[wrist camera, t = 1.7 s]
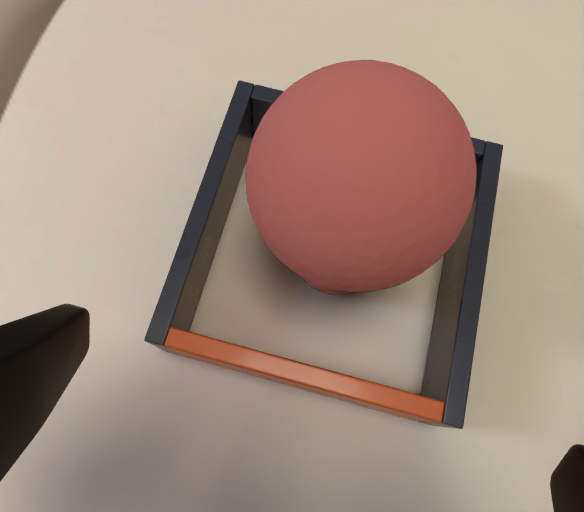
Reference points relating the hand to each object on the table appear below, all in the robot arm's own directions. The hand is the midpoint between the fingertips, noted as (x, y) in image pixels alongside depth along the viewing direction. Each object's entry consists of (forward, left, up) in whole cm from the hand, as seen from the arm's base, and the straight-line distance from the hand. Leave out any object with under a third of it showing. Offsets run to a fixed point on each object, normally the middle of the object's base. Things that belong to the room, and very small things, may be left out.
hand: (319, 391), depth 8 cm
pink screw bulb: (+6, -3, -13) cm, 15 cm away
